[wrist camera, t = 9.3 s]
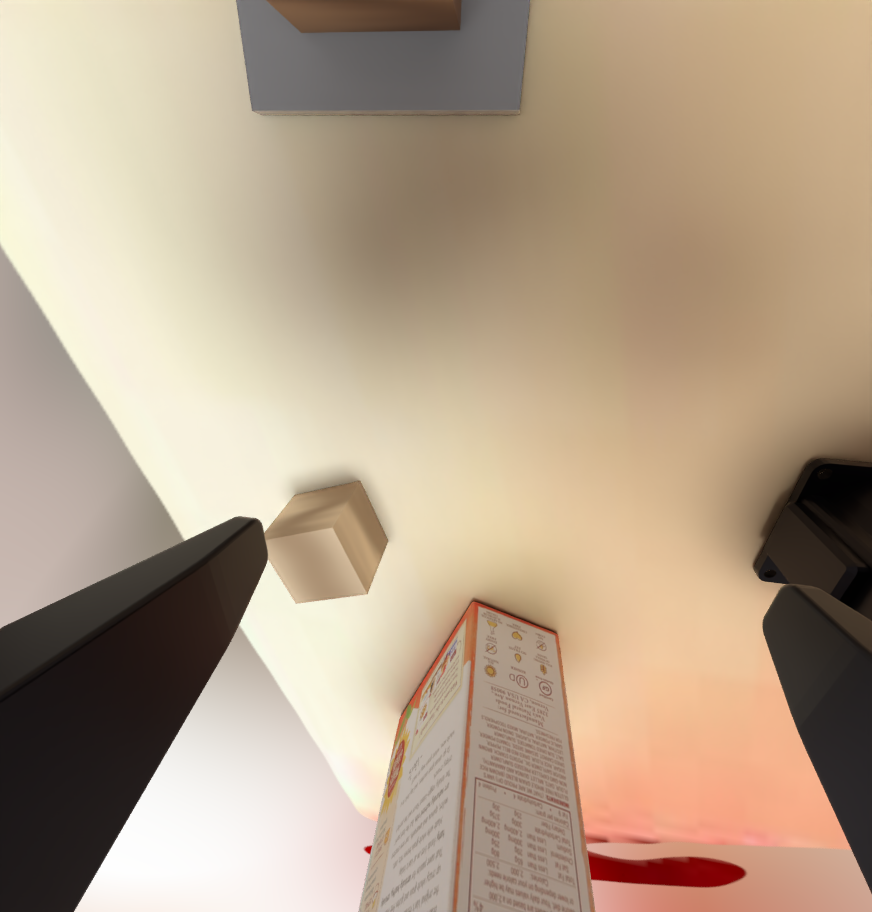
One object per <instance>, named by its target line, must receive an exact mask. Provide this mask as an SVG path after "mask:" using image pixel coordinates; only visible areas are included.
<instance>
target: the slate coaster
mask: <svg viewBox="0 0 872 912" xmlns="http://www.w3.org/2000/svg"><path fill="white" fill-rule="evenodd" d="M236 2H237V9H238V16H239V23H240V30H241V37H242V44H243V51H244V58H245V65H246V72H247V79H248V86H249V93H250V99H251V106H252V111H254V112H256V113H258V114H261V115H519V111H520V100H521V90H522V79H523V69H524V59H525V48H526V38H527V27H528V17H529V6H530V0H462V2H461V25H460V30H447V31H386V32H326V33H301V32H300V31H299V30H298V29H297V28H296V27H294V26H293V25H292V24H291V23H290V22H289V21H288V20H287V19H286V18H285V17H284V16H282V15H281V14H280V13H279V12H278V11H277V10H276V9H275V8H274V7H273V6H272V5H270V4H269V3H268V2H267V1H266V0H236Z"/></svg>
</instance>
